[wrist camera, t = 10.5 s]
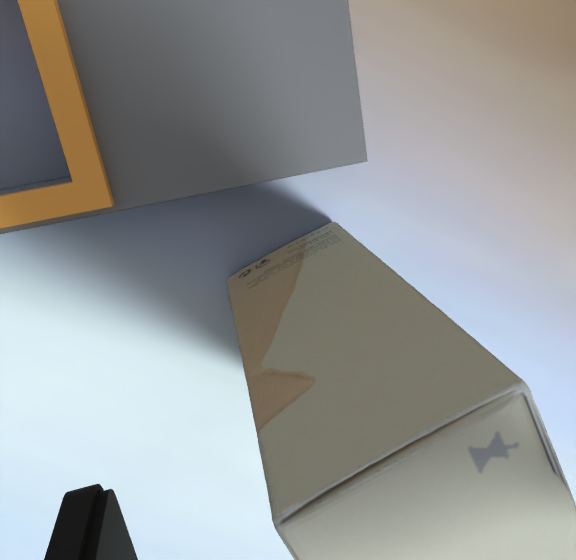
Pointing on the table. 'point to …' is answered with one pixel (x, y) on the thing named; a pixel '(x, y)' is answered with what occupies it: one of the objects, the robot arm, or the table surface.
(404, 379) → the box
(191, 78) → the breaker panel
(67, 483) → the table surface
